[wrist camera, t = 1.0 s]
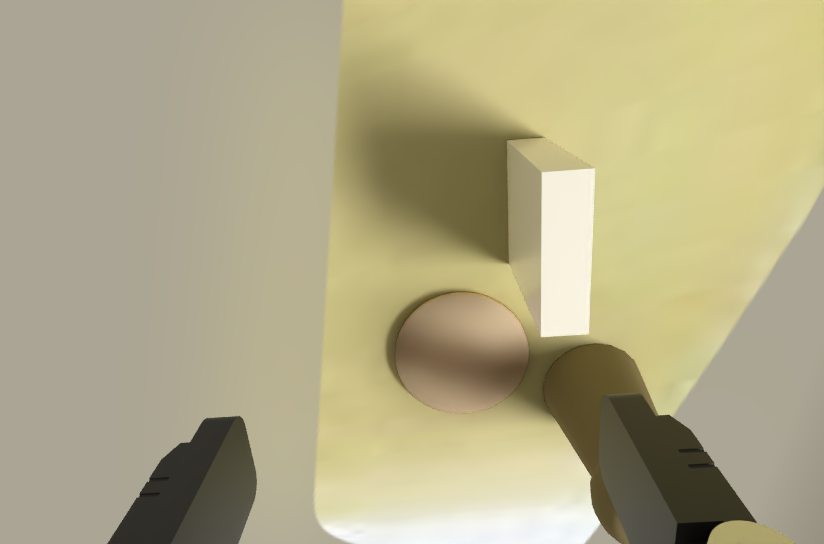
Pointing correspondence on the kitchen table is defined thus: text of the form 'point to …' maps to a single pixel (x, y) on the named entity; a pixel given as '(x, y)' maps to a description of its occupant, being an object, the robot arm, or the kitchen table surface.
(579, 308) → the tile
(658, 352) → the kitchen table surface
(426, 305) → the disc
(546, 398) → the pepper shaker
